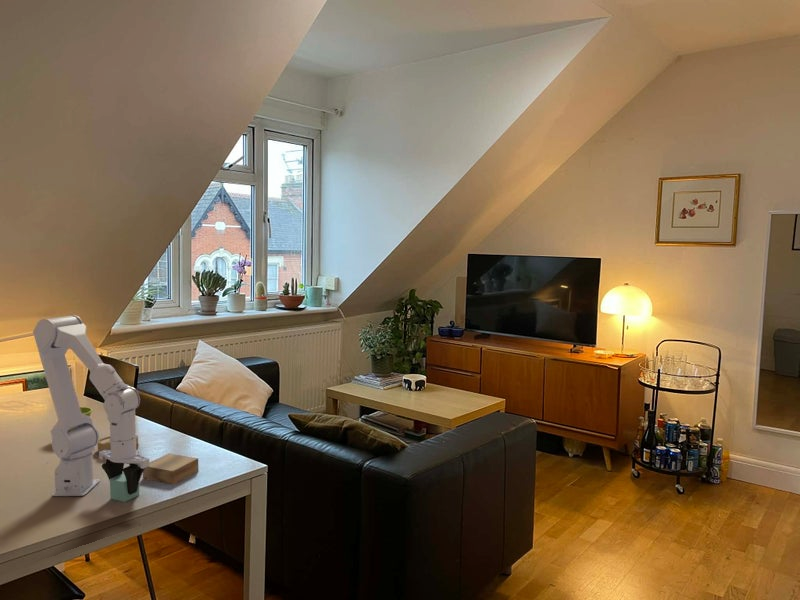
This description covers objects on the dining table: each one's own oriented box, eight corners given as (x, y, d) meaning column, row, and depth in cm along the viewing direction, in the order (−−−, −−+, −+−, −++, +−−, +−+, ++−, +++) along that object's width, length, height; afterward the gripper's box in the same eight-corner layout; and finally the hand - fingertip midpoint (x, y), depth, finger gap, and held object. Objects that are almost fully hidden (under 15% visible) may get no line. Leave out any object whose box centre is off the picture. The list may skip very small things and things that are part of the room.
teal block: (139, 494, 154) (138, 475, 153) (124, 502, 150) (123, 482, 149) (125, 491, 156) (124, 472, 155) (110, 498, 152) (109, 479, 151)
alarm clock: (135, 432, 194) (141, 437, 181) (136, 448, 193) (142, 454, 180) (95, 437, 188) (99, 443, 175) (96, 454, 188) (100, 461, 175)
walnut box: (198, 472, 170) (198, 458, 170) (173, 485, 161) (172, 471, 160) (169, 467, 174) (169, 453, 173) (143, 480, 164) (142, 465, 164)
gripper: (158, 437, 152) (159, 490, 153) (114, 429, 158) (116, 480, 159) (135, 445, 146) (137, 501, 147) (91, 437, 151) (93, 490, 153)
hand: (124, 491), depth 153 cm, fingers closed on teal block, 5 cm apart
